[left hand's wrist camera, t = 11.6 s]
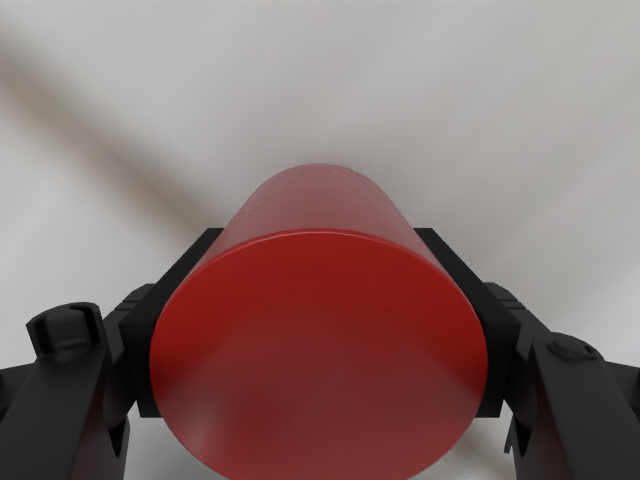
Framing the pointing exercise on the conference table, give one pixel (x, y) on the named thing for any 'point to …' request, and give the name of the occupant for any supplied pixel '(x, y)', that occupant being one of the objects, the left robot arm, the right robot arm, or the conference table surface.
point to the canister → (318, 340)
